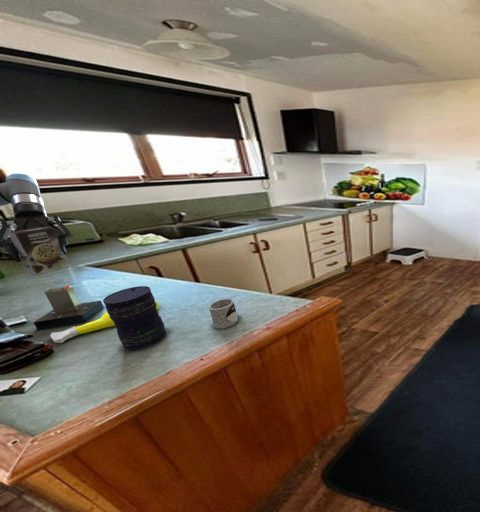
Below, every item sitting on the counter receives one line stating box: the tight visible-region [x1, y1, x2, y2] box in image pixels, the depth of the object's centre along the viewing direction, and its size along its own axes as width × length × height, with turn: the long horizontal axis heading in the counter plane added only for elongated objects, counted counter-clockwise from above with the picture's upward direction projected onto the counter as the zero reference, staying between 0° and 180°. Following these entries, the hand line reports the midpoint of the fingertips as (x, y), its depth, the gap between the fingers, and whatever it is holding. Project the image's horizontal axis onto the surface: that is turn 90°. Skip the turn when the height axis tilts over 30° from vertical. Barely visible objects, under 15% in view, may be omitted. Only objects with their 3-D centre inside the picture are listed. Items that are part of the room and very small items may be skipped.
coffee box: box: [8, 226, 71, 277], centre depth 100 cm, size 9×6×16 cm
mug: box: [208, 297, 239, 329], centre depth 86 cm, size 10×7×7 cm, turn 9°
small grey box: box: [44, 285, 82, 314], centre depth 89 cm, size 6×2×8 cm, turn 109°
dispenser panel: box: [32, 300, 105, 331], centre depth 91 cm, size 12×10×3 cm
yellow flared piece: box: [50, 300, 160, 344], centre depth 88 cm, size 3×11×24 cm
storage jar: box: [102, 285, 168, 352], centre depth 76 cm, size 10×10×15 cm
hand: (41, 256), depth 99 cm, fingers closed on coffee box, 10 cm apart
